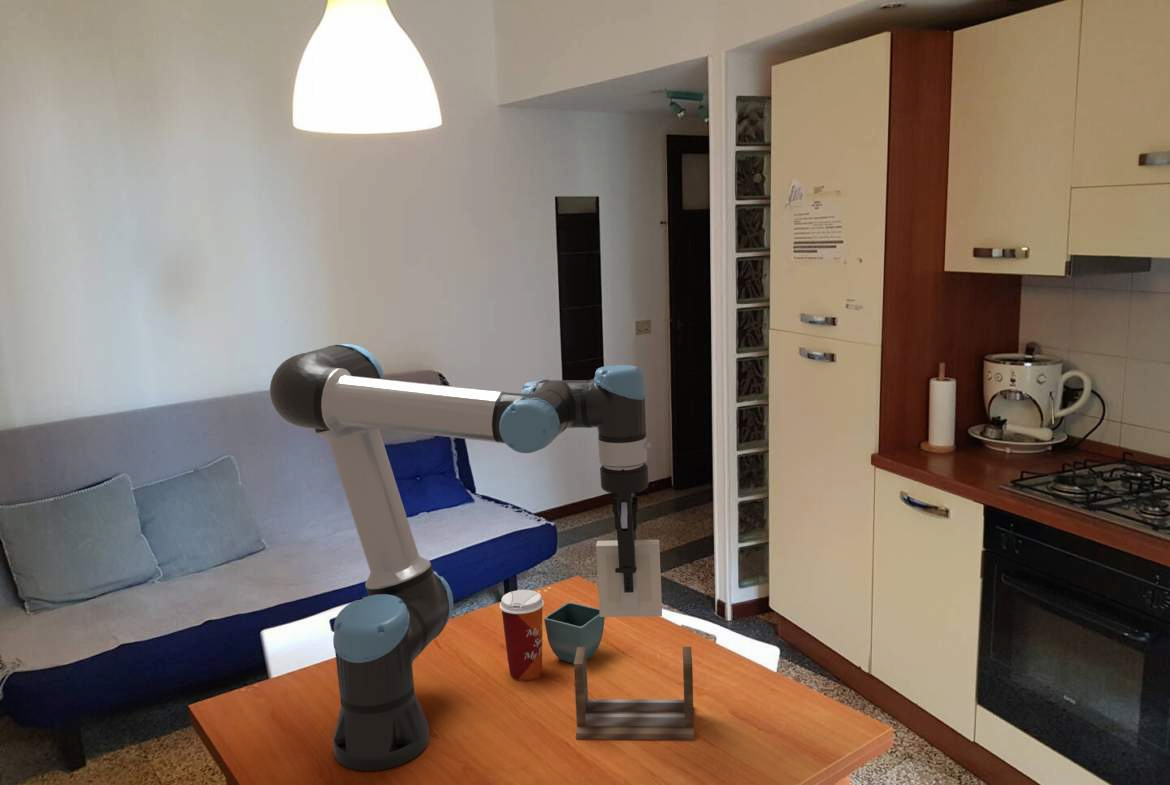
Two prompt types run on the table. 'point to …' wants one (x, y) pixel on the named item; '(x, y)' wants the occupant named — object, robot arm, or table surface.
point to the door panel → (646, 579)
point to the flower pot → (574, 630)
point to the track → (633, 710)
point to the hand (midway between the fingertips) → (630, 604)
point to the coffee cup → (523, 633)
